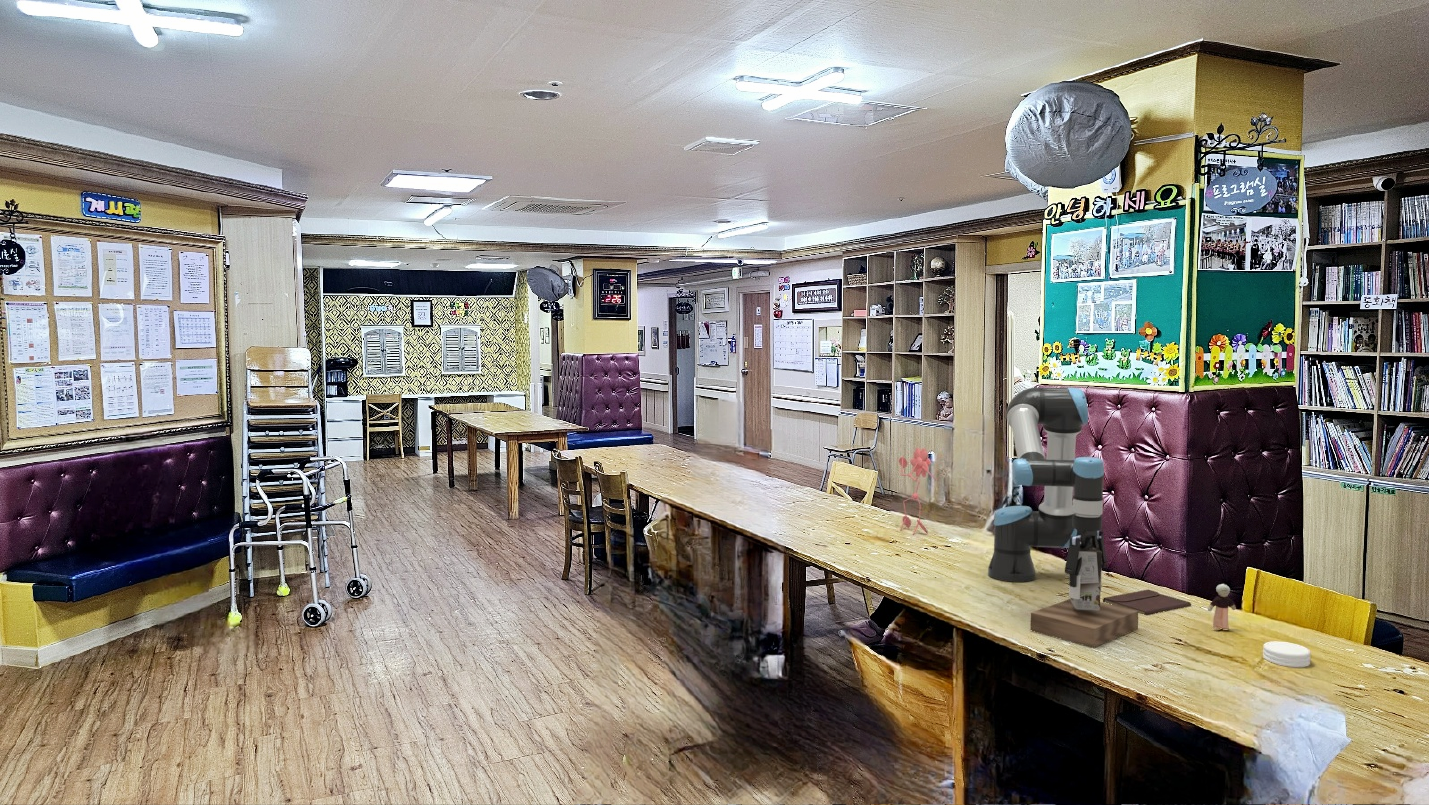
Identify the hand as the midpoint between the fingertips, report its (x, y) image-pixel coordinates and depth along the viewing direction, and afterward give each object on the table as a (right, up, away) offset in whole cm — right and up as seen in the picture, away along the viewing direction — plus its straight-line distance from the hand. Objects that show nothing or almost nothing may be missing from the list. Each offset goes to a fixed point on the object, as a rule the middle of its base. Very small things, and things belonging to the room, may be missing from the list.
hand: (1085, 594), depth 247 cm
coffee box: (0, -3, 0) cm, 3 cm away
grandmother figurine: (+38, -10, 0) cm, 39 cm away
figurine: (-16, -1, +127) cm, 128 cm away
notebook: (+28, -9, +24) cm, 38 cm away
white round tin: (+40, -12, -23) cm, 48 cm away
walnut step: (0, -10, +1) cm, 10 cm away
